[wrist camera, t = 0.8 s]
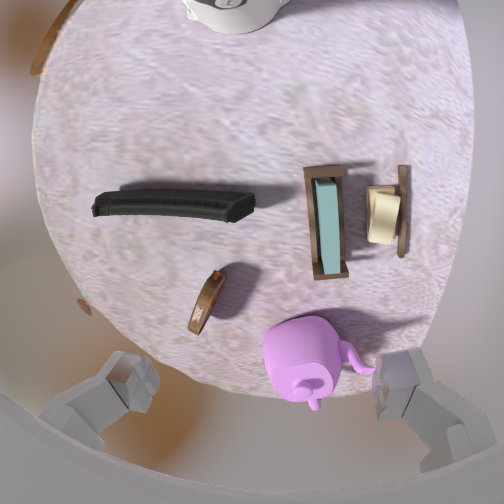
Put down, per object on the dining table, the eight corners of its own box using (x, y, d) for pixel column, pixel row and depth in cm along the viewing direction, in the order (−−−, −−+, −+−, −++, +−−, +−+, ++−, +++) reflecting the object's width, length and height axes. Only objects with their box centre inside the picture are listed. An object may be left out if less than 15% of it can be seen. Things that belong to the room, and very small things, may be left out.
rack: (303, 167, 43) (304, 172, 38) (402, 162, 40) (416, 166, 34) (312, 264, 50) (313, 280, 45) (401, 256, 47) (412, 270, 41)
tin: (208, 319, 60) (196, 344, 52) (195, 314, 60) (182, 338, 52) (230, 267, 53) (220, 290, 46) (216, 260, 53) (203, 282, 45)
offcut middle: (367, 187, 42) (369, 189, 41) (391, 185, 41) (394, 187, 40) (369, 237, 46) (371, 241, 44) (392, 235, 45) (395, 238, 43)
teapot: (286, 379, 65) (281, 427, 51) (255, 321, 58) (243, 372, 44) (372, 359, 58) (382, 407, 45) (359, 293, 51) (375, 343, 38)
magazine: (264, 205, 38) (67, 215, 34) (263, 227, 39) (71, 235, 35) (248, 183, 53) (104, 190, 49) (247, 199, 55) (106, 205, 50)
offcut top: (375, 191, 41) (378, 193, 39) (397, 195, 40) (400, 197, 39) (367, 238, 44) (369, 242, 43) (388, 241, 44) (391, 244, 42)
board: (314, 178, 44) (318, 186, 37) (329, 177, 43) (336, 185, 36) (320, 253, 49) (324, 274, 42) (334, 252, 49) (340, 273, 42)
